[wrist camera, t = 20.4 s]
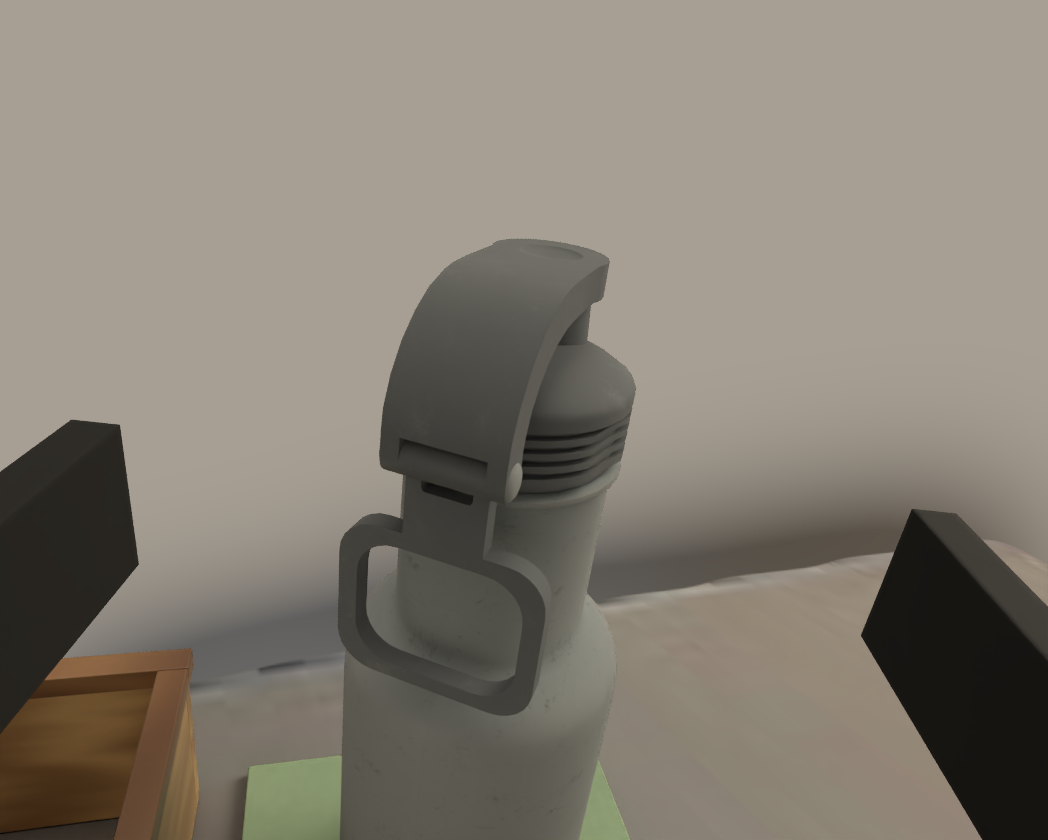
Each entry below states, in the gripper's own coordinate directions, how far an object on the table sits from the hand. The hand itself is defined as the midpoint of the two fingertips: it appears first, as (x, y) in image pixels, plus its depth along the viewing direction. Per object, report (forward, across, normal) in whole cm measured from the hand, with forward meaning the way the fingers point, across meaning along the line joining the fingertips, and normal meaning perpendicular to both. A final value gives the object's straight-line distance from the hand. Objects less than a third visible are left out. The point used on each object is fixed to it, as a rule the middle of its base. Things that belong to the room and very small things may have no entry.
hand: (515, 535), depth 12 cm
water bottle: (+10, 0, -26) cm, 28 cm away
